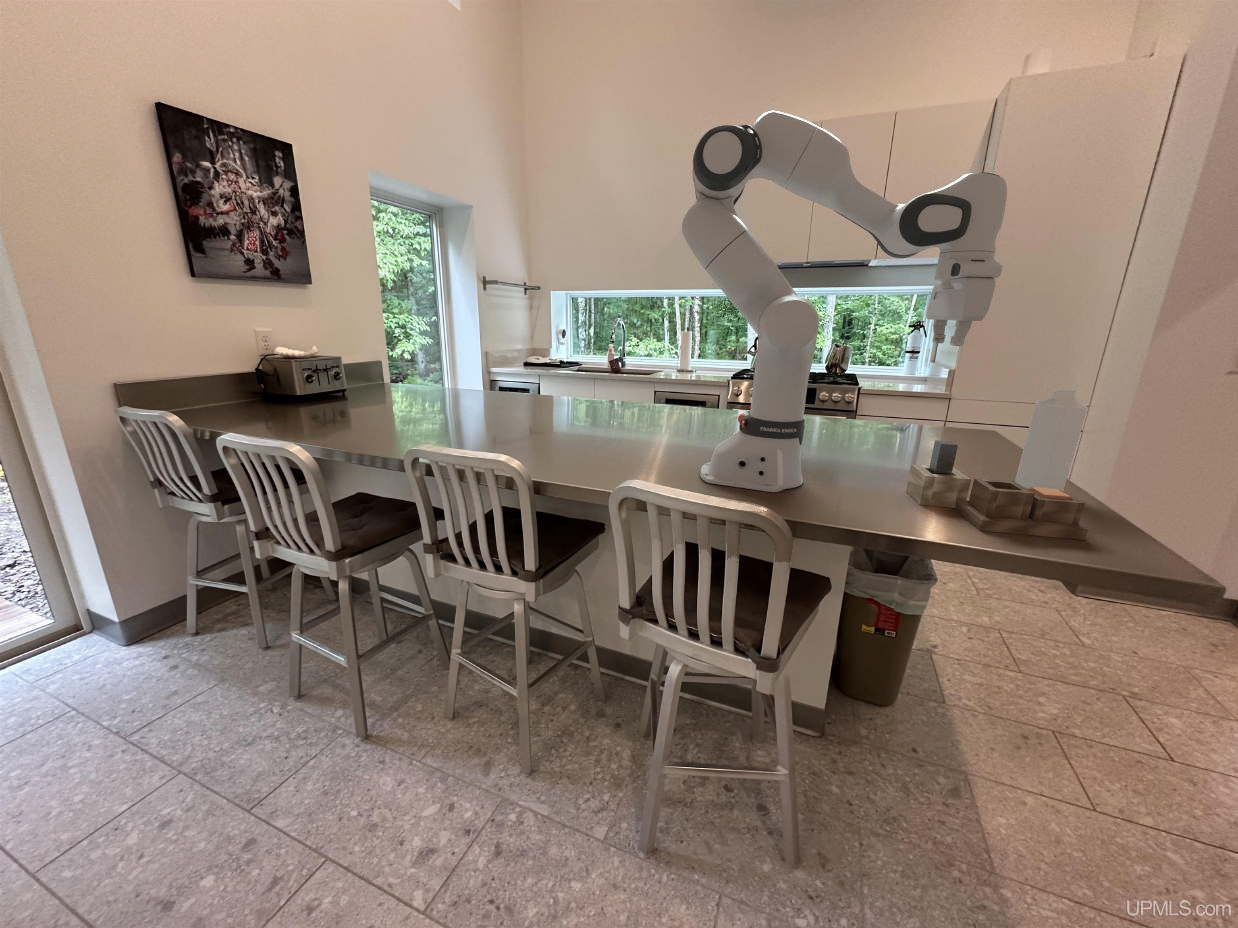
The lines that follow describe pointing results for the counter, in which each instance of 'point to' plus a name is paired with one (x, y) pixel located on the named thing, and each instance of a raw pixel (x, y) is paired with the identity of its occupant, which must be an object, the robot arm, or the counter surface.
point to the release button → (1050, 493)
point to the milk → (1051, 441)
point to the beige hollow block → (937, 487)
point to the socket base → (1021, 511)
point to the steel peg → (943, 457)
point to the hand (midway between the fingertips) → (946, 344)
